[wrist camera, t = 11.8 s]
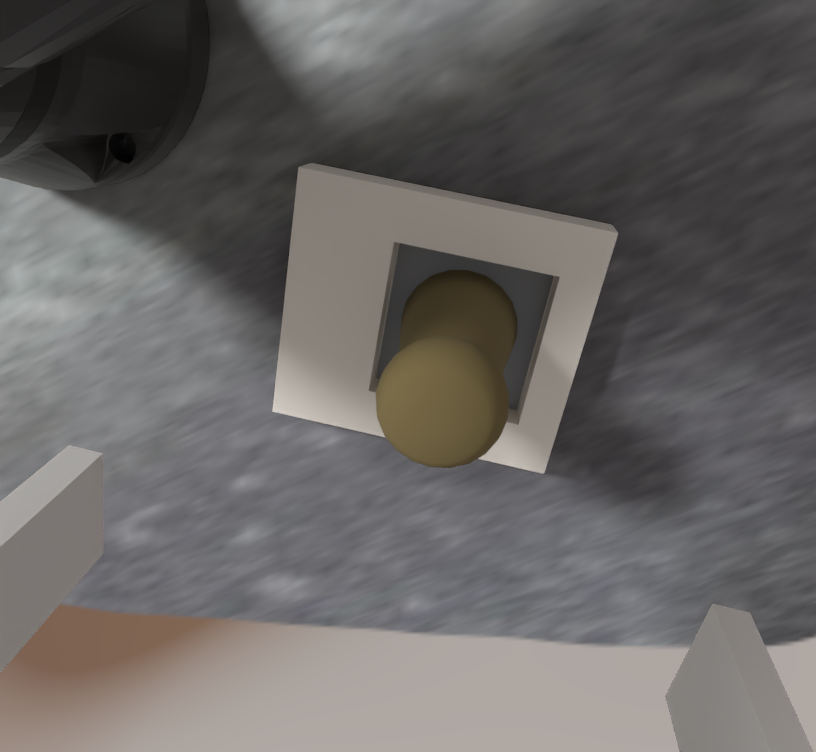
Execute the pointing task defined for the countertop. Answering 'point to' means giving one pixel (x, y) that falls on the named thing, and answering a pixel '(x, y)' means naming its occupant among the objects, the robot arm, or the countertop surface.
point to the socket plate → (407, 268)
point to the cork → (449, 370)
